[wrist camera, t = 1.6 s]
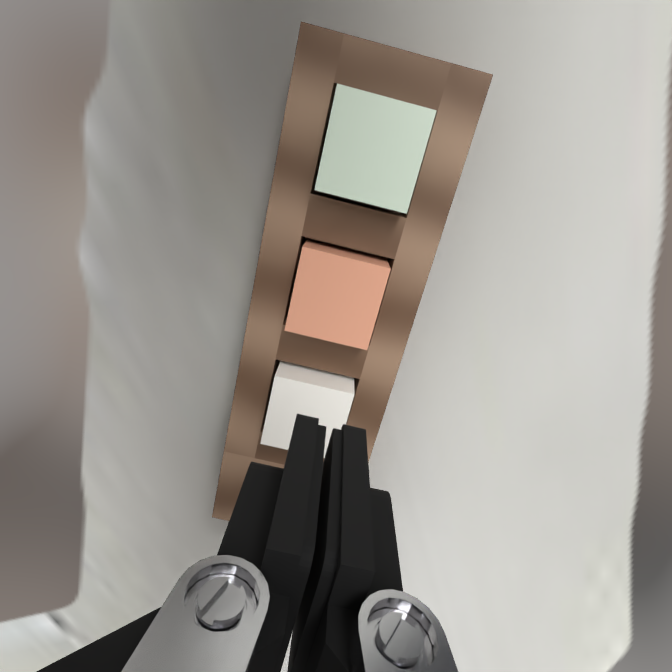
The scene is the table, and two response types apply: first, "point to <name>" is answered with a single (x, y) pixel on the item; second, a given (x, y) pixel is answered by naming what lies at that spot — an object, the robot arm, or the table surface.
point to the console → (345, 233)
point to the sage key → (373, 148)
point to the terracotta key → (337, 294)
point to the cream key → (306, 402)
